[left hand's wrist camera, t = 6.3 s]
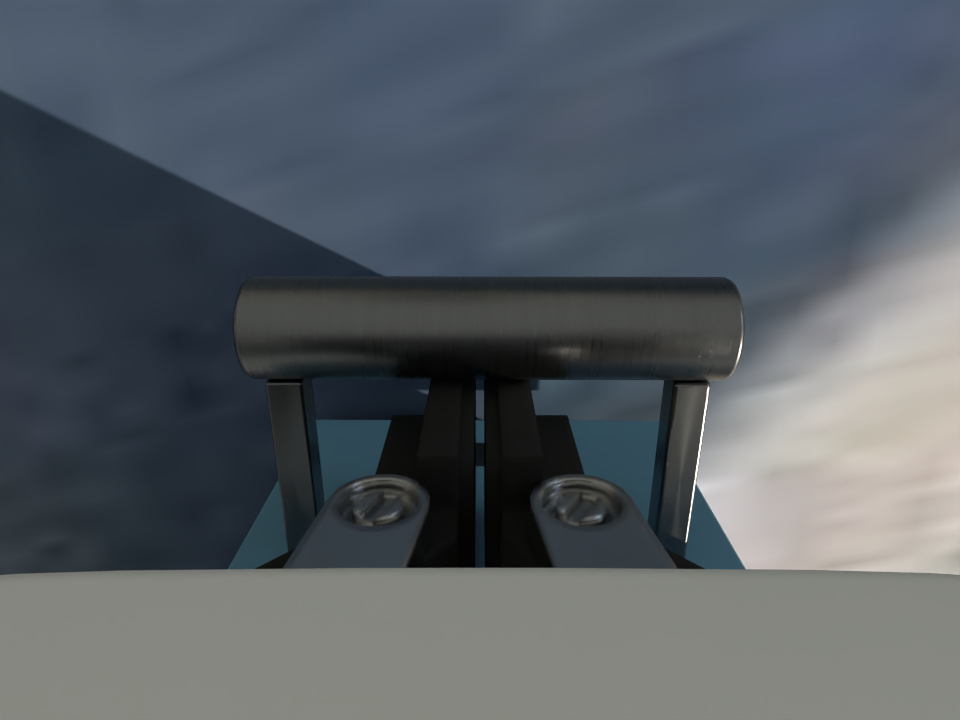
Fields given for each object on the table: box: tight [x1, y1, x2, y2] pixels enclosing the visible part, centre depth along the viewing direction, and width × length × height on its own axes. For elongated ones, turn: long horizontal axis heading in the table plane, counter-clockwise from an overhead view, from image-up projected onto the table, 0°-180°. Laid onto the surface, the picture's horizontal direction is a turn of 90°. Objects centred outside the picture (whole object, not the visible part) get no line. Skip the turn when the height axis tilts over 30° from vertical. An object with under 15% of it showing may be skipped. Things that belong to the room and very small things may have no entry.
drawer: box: [228, 276, 745, 569], centre depth 14 cm, size 19×9×8 cm, turn 0°
